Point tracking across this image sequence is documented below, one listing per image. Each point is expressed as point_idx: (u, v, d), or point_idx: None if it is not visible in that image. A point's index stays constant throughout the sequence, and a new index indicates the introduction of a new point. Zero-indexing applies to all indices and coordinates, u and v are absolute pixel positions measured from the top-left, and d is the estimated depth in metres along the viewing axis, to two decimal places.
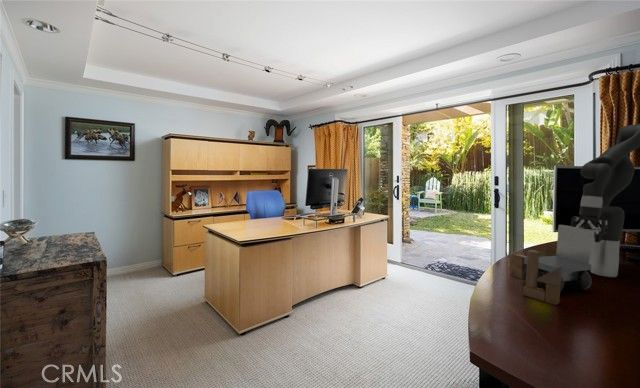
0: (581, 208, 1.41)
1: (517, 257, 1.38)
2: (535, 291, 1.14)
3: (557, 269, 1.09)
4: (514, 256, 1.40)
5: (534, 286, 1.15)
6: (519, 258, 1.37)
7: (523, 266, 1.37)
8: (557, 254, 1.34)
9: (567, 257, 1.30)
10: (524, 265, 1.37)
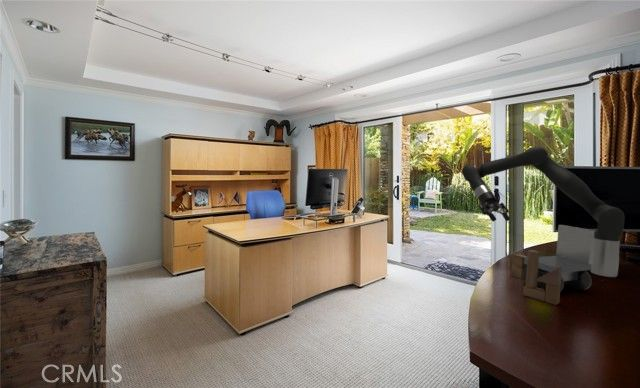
0: None
1: (517, 257, 1.38)
2: (535, 291, 1.14)
3: (557, 269, 1.09)
4: (514, 256, 1.40)
5: (534, 286, 1.15)
6: (519, 258, 1.37)
7: (523, 266, 1.37)
8: (557, 254, 1.34)
9: (567, 257, 1.30)
10: (524, 265, 1.37)
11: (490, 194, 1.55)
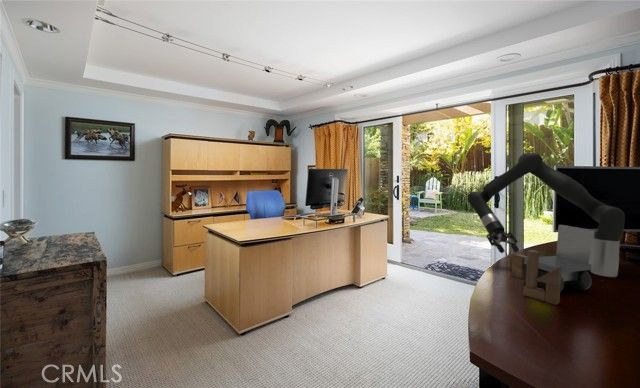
0: None
1: (517, 257, 1.38)
2: (535, 291, 1.14)
3: (557, 269, 1.09)
4: (514, 256, 1.40)
5: (534, 286, 1.15)
6: (519, 258, 1.37)
7: (523, 266, 1.37)
8: (557, 254, 1.34)
9: (567, 257, 1.30)
10: (524, 265, 1.37)
11: (498, 224, 1.50)
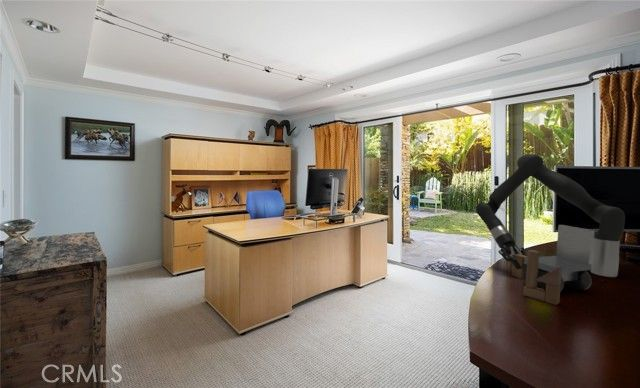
0: None
1: (517, 257, 1.38)
2: (535, 291, 1.14)
3: (557, 269, 1.09)
4: (514, 256, 1.40)
5: (534, 286, 1.15)
6: (519, 258, 1.37)
7: (523, 266, 1.37)
8: (557, 254, 1.34)
9: (567, 257, 1.30)
10: (524, 265, 1.37)
11: (508, 236, 1.44)
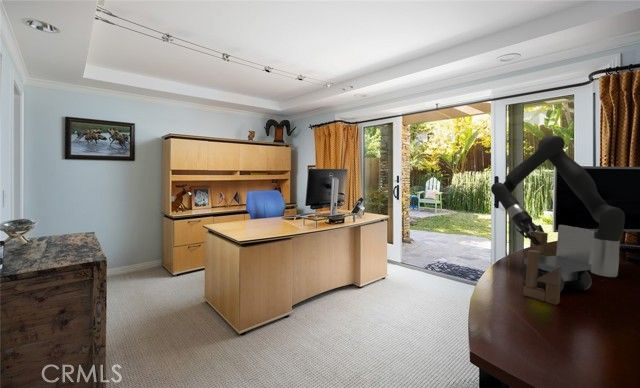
0: None
1: (535, 233, 1.39)
2: (535, 291, 1.14)
3: (557, 269, 1.09)
4: None
5: (534, 286, 1.15)
6: (538, 234, 1.38)
7: (542, 242, 1.37)
8: (557, 254, 1.34)
9: (567, 257, 1.30)
10: (543, 241, 1.37)
11: (526, 214, 1.45)
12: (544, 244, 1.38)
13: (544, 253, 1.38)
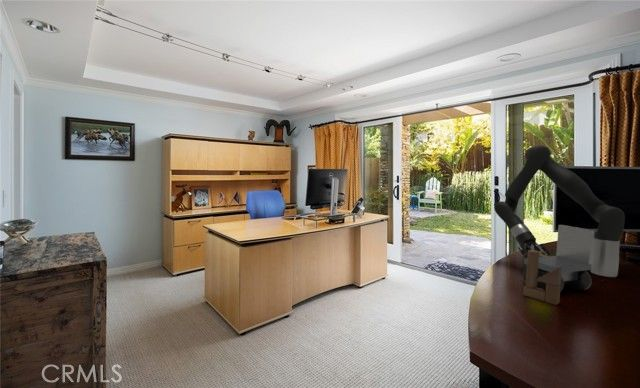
0: None
1: None
2: (535, 291, 1.14)
3: (557, 269, 1.09)
4: None
5: (534, 286, 1.15)
6: None
7: None
8: (557, 254, 1.34)
9: (567, 257, 1.30)
10: None
11: (529, 234, 1.45)
12: None
13: None
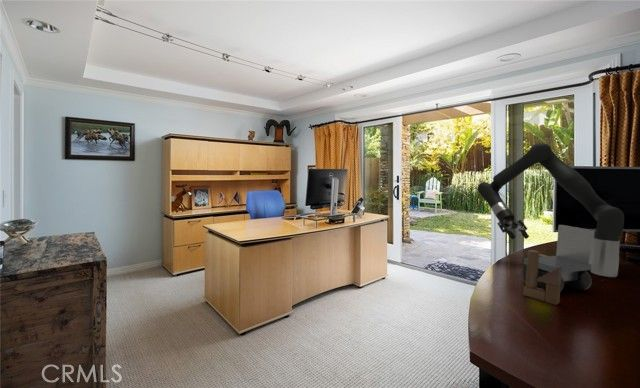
0: None
1: None
2: (535, 291, 1.14)
3: (557, 269, 1.09)
4: None
5: (534, 286, 1.15)
6: None
7: None
8: (557, 254, 1.34)
9: (567, 257, 1.30)
10: None
11: (508, 211, 1.56)
12: None
13: None
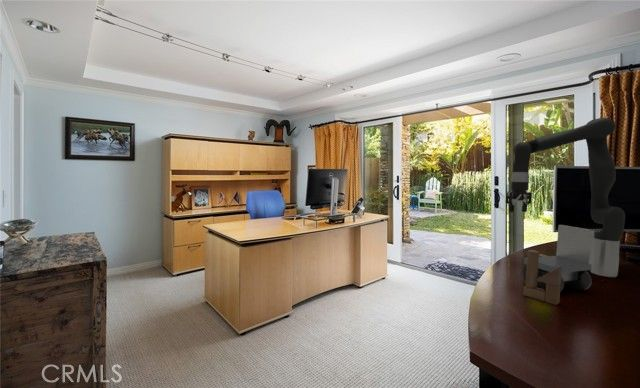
0: None
1: None
2: (535, 291, 1.14)
3: (557, 269, 1.09)
4: None
5: (534, 286, 1.15)
6: None
7: None
8: (557, 254, 1.34)
9: (567, 257, 1.30)
10: None
11: (525, 185, 1.52)
12: None
13: None
